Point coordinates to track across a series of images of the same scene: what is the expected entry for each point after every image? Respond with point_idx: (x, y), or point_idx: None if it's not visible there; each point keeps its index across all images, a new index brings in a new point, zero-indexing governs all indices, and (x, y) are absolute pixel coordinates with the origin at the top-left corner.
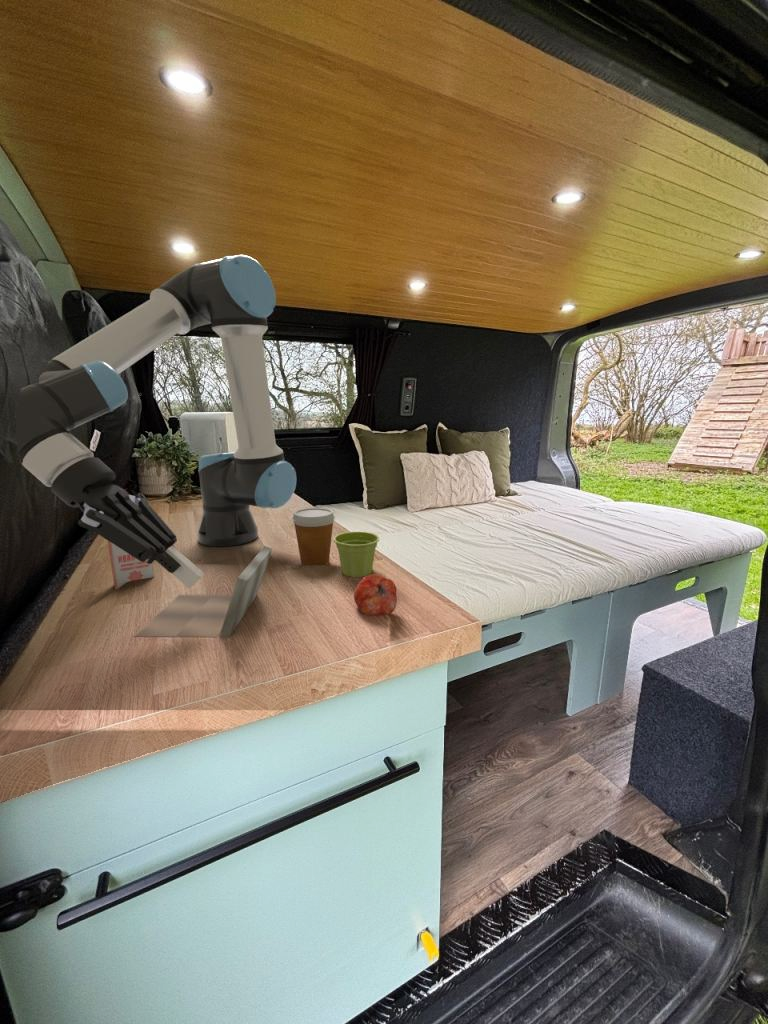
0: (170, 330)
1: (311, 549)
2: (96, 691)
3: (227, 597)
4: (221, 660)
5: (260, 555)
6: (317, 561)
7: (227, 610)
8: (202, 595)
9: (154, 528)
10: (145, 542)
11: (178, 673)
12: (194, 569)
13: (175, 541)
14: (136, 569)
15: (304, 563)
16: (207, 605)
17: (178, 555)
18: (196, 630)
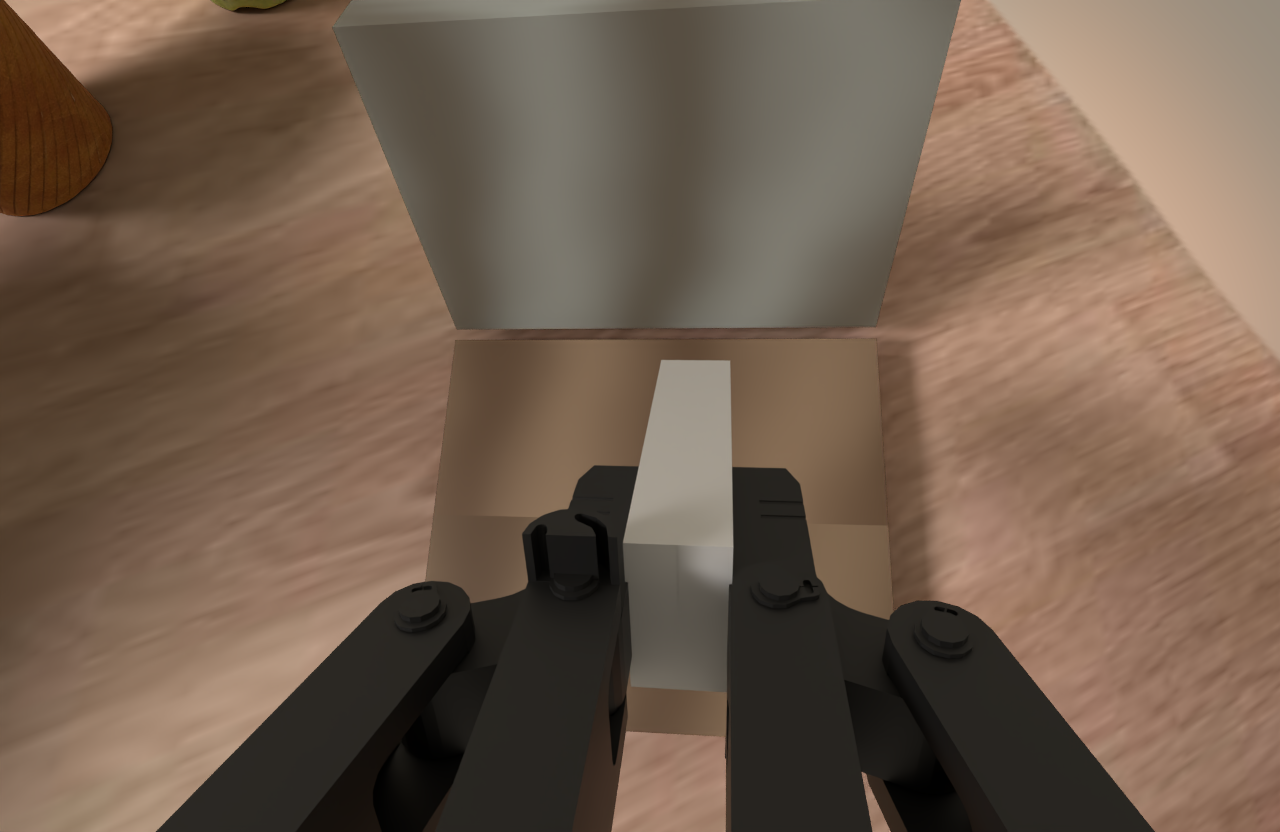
0: None
1: (23, 72)
2: (1263, 719)
3: (474, 424)
4: (975, 301)
5: (519, 6)
6: (87, 105)
7: (905, 209)
8: (433, 572)
9: (526, 809)
10: (977, 721)
11: (1084, 430)
12: (704, 389)
13: (590, 512)
14: None
15: (69, 179)
16: (561, 496)
17: (701, 474)
18: (824, 448)
